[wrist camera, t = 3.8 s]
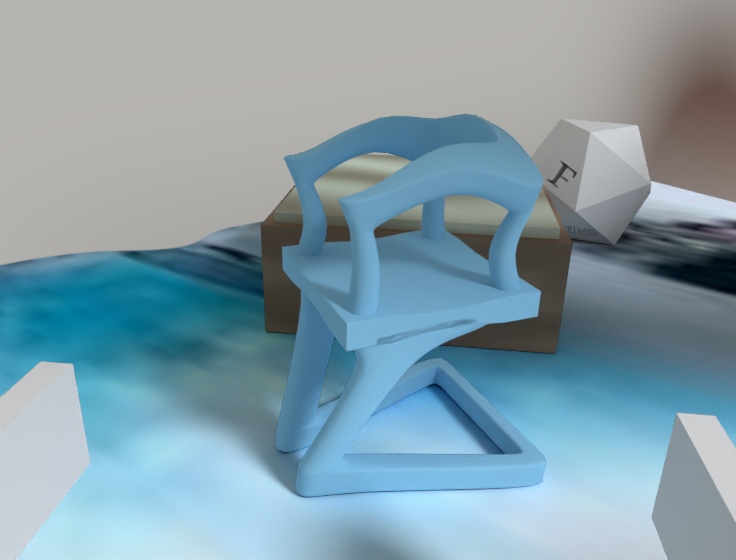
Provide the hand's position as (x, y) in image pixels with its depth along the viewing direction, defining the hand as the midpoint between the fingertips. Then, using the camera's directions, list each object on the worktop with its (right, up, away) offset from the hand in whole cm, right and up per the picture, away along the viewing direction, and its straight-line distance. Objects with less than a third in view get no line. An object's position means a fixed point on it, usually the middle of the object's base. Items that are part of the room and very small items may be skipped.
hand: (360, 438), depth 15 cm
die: (+15, +7, +33) cm, 37 cm away
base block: (+3, +3, +24) cm, 24 cm away
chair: (+1, -3, +10) cm, 11 cm away
